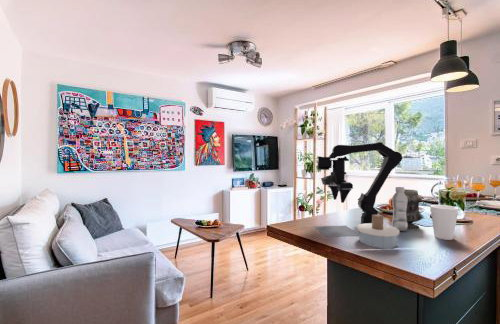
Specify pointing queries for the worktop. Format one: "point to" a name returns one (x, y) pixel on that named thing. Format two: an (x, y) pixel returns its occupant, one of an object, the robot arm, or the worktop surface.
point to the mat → (336, 231)
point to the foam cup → (444, 221)
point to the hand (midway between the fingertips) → (338, 201)
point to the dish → (378, 241)
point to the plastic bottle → (400, 209)
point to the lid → (378, 228)
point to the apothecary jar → (413, 208)
